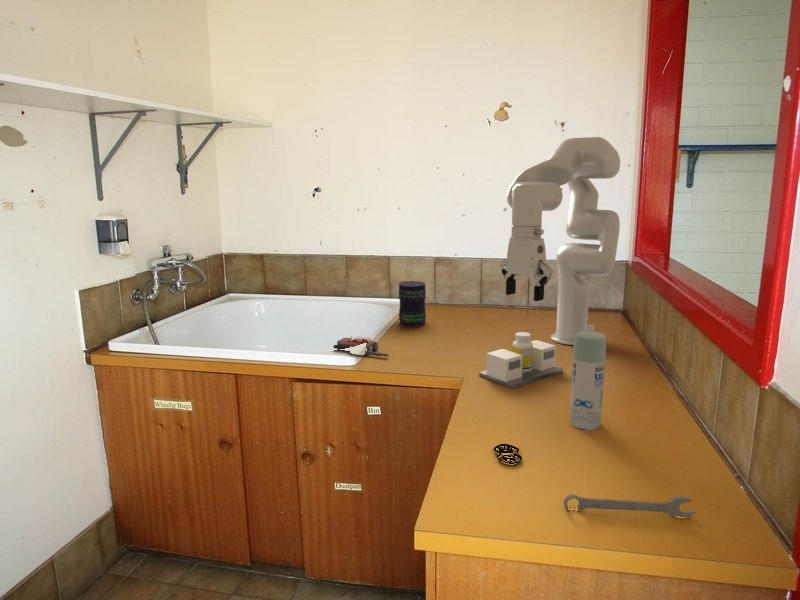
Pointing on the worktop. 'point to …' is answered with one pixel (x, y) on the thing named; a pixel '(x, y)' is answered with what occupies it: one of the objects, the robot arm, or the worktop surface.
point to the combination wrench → (634, 505)
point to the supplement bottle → (524, 349)
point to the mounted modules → (519, 361)
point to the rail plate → (524, 376)
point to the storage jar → (412, 303)
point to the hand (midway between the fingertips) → (524, 297)
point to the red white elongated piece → (354, 342)
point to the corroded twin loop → (508, 452)
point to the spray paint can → (587, 379)
